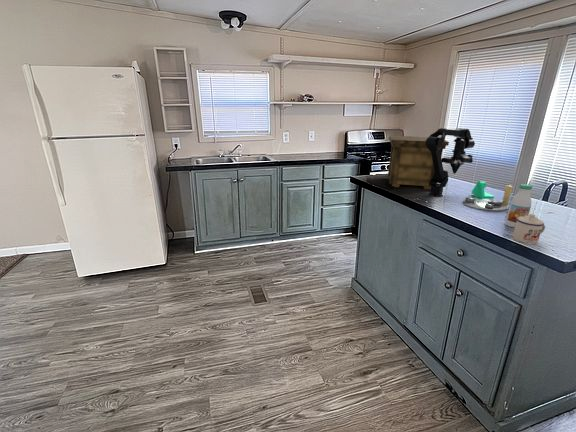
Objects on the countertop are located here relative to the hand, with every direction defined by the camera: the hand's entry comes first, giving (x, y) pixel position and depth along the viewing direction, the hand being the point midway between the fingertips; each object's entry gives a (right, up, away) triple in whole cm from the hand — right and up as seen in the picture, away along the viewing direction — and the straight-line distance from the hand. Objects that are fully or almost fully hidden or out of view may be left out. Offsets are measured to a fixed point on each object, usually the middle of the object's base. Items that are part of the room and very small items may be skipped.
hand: (454, 173), depth 196 cm
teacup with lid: (-6, -38, -68) cm, 78 cm away
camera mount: (+15, -16, -5) cm, 22 cm away
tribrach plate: (+5, -21, -21) cm, 30 cm away
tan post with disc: (+8, -22, -27) cm, 35 cm away
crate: (-18, -4, +28) cm, 33 cm away
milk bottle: (0, -33, -52) cm, 61 cm away
